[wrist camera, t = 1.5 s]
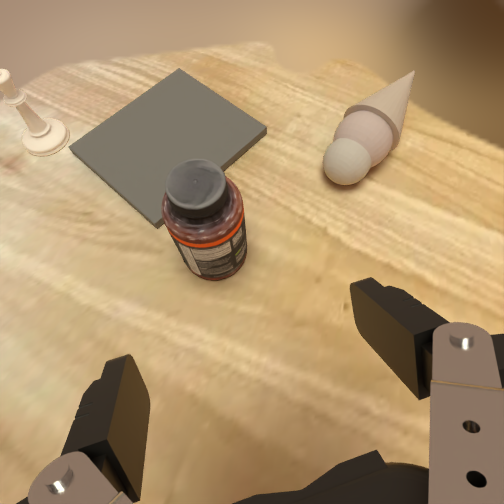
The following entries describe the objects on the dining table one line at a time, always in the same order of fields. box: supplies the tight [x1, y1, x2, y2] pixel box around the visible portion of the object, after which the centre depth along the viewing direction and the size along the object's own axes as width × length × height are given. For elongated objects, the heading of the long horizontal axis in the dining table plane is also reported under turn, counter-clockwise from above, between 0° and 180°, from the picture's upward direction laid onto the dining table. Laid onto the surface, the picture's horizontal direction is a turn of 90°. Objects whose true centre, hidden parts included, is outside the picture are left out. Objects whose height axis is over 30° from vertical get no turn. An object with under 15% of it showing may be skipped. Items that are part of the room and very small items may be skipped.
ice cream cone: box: [323, 71, 415, 185], centre depth 35 cm, size 6×6×15 cm
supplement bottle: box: [161, 158, 247, 280], centre depth 28 cm, size 6×6×11 cm
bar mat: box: [69, 68, 267, 229], centre depth 38 cm, size 16×14×1 cm
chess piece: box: [0, 69, 69, 156], centre depth 34 cm, size 5×5×10 cm
